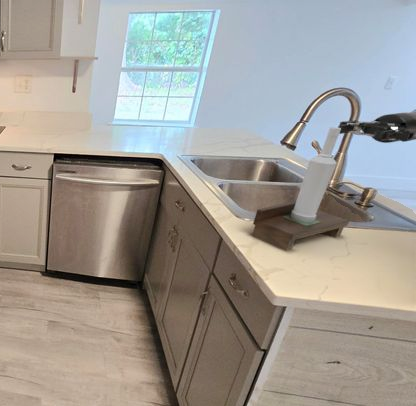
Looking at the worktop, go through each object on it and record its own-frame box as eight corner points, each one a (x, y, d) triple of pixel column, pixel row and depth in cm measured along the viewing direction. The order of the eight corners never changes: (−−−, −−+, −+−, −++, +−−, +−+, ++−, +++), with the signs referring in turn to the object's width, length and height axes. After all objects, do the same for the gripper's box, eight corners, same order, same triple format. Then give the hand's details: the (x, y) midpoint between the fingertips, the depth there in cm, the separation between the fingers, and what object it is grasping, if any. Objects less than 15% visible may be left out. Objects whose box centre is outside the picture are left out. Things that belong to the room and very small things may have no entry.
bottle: (319, 222, 97) (356, 129, 88) (301, 223, 97) (336, 130, 87) (302, 214, 102) (334, 125, 92) (284, 215, 102) (315, 126, 92)
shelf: (342, 236, 100) (353, 210, 97) (287, 252, 94) (297, 224, 91) (302, 222, 109) (311, 197, 106) (249, 234, 103) (257, 209, 100)
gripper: (369, 109, 103) (332, 113, 98) (442, 117, 91) (403, 122, 86) (359, 135, 106) (322, 141, 101) (428, 146, 94) (389, 153, 89)
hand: (359, 132), depth 94 cm, fingers open, 8 cm apart
